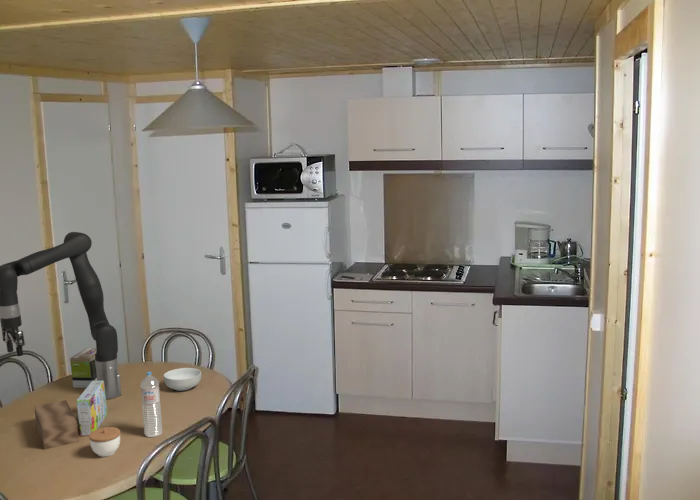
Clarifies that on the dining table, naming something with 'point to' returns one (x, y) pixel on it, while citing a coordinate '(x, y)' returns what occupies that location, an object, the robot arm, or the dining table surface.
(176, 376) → the cereal bowl
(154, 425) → the water bottle
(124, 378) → the dining table surface
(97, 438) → the lidded jar
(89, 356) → the tea box
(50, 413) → the walnut stand
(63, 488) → the dining table surface
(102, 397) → the snack box
